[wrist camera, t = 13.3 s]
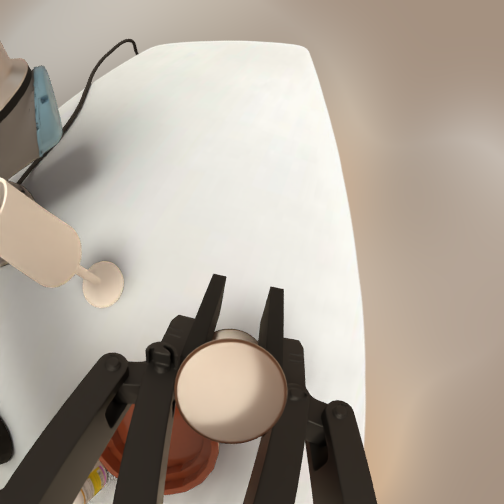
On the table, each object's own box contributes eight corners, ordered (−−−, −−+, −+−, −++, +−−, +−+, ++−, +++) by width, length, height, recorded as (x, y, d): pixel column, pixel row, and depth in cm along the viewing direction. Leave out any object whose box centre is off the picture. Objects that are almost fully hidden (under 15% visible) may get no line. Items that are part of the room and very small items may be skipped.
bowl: (101, 365, 32) (81, 367, 27) (216, 370, 34) (214, 375, 28) (112, 467, 28) (96, 483, 22) (223, 477, 29) (223, 497, 23)
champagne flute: (132, 274, 37) (31, 179, 14) (109, 317, 35) (-18, 267, 12) (96, 253, 37) (-6, 157, 15) (75, 293, 35) (-48, 228, 12)
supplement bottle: (62, 460, 26) (15, 486, 14) (84, 441, 28) (35, 468, 16) (93, 493, 25) (55, 528, 13) (117, 476, 27) (79, 514, 15)
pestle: (199, 333, 22) (134, 300, 6) (257, 331, 22) (318, 294, 7) (202, 388, 20) (146, 473, 5) (260, 386, 20) (327, 465, 5)
